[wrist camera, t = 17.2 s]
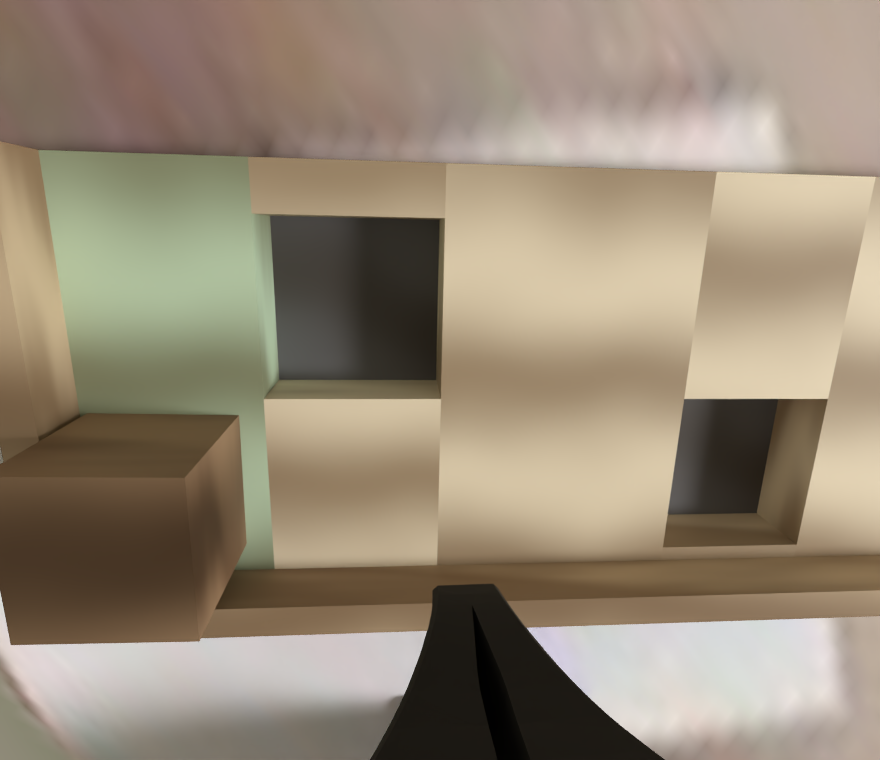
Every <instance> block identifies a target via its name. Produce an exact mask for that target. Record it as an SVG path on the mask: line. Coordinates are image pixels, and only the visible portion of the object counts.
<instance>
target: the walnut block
mask: <svg viewBox="0 0 880 760" xmlns="http://www.w3.org/2000/svg"><path fill="white" fill-rule="evenodd" d="M246 544H247V540H246V523H245V506H244V489H243V473H242V456H241V439H240V422H239V415H186V414H108V413H87V414H85V415H83V416H82V417H80V418H78V419H77V420H75V421H73V422H71V423H70V424H68V425H66V426H65V427H63V428H61V429H59V430H58V431H56V432H54V433H53V434H51V435H49V436H48V437H46V438H44V439H42V440H41V441H39V442H37V443H36V444H34V445H32V446H30V447H29V448H27V449H25V450H24V451H22V452H20V453H18V454H17V455H15V456H13V457H12V458H10V459H8V460H6V461H5V462H3V463H1V464H0V592H1V597H2V602H3V607H4V612H5V617H6V622H7V627H8V633H9V638H10V643H11V645H34V644H86V643H138V642H190V641H200V639H201V637H202V635H203V633H204V631H205V629H206V627H207V625H208V622H209V620H210V618H211V616H212V614H213V612H214V610H215V608H216V606H217V604H218V602H219V600H220V598H221V596H222V594H223V592H224V590H225V587H226V585H227V583H228V581H229V579H230V577H231V575H232V573H233V571H234V569H235V567H236V565H237V563H238V561H239V559H240V557H241V555H242V552H243V550H244V548H245V546H246Z"/></svg>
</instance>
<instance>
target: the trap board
mask: <svg viewBox="0 0 880 760" xmlns="http://www.w3.org/2000/svg"><path fill="white" fill-rule="evenodd" d="M87 413H108V414H186V415H239V422H240V439H241V456H242V473H243V489H244V506H245V523H246V540H247V544H246V546H245V548H244V550H243V552H242V555H241V557H240V559H239V561H238V563H237V565H236V567H235V569H234V571H233V573H232V575H231V577H230V579H229V581H228V583H227V585H226V587H225V590H224V592H223V594H222V596H221V598H220V600H219V602H218V604H217V606H216V608H215V610H214V612H213V614H212V616H211V618H210V620H209V622H208V625H207V627H206V629H205V631H204V633H203V635H202V637H201V638H220V637H250V636H281V635H312V634H343V633H373V632H404V631H427V630H428V626H429V622H430V617H431V612H432V590H433V589H434V588H436V587H437V586H438V585H467V584H494V585H495V586H496V587H497V588H498V589H499V591H500V592H501V594H502V595H503V597H504V598H505V600H506V601H507V602H508V604H509V605H510V607H511V608H512V609H513V611H514V612H515V614H516V615H517V616H518V618H519V619H520V620H521V622H522V623H523V624H524V626H525V627H526V628H527V627H558V626H588V625H619V624H650V623H680V622H711V621H742V620H773V619H803V618H834V617H865V616H880V177H863V176H832V175H801V174H770V173H739V172H708V171H676V170H645V169H614V168H583V167H552V166H521V165H489V164H458V163H427V162H396V161H365V160H333V159H302V158H271V157H240V156H209V155H178V154H146V153H115V152H84V151H53V150H36V149H31V148H27V147H23V146H18V145H14V144H9V143H5V142H0V447H1V452H2V457H3V462H5V461H6V460H8V459H10V458H12V457H13V456H15V455H17V454H18V453H20V452H22V451H24V450H25V449H27V448H29V447H30V446H32V445H34V444H36V443H37V442H39V441H41V440H42V439H44V438H46V437H48V436H49V435H51V434H53V433H54V432H56V431H58V430H59V429H61V428H63V427H65V426H66V425H68V424H70V423H71V422H73V421H75V420H77V419H78V418H80V417H82V416H83V415H85V414H87Z"/></svg>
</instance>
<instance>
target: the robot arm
mask: <svg viewBox="0 0 880 760" xmlns="http://www.w3.org/2000/svg"><path fill="white" fill-rule="evenodd" d="M370 760H665V759H663V758H662V757H661V756H659V755H658V754H656V753H655V752H654V751H652V750H651V749H650V748H649V747H647V746H646V745H645V744H643V743H642V742H641V741H639V740H638V739H637V738H636V737H634V736H633V735H632V734H630V733H629V732H628V731H627V730H625V729H624V728H623V727H622V726H620V725H619V724H618V723H617V722H616V721H614V720H613V719H612V718H611V717H610V716H608V715H607V714H606V713H605V712H604V711H603V710H602V709H601V708H600V707H599V706H597V705H596V704H595V703H594V702H593V701H592V700H591V699H590V698H589V697H588V696H587V695H586V694H585V693H584V692H583V691H582V690H581V689H580V688H579V687H578V686H577V685H576V684H575V683H574V682H573V681H572V680H571V679H570V678H569V677H568V676H567V675H566V674H565V673H564V672H563V670H562V669H561V668H560V667H559V666H558V665H557V664H556V663H555V662H554V661H553V659H552V658H551V657H550V656H549V655H548V654H547V653H546V651H545V650H544V649H543V648H542V647H541V645H540V644H539V643H538V642H537V640H536V639H535V638H534V637H533V636H532V634H531V633H530V632H529V631H528V629H527V628H526V627H525V626H524V624H523V623H522V622H521V620H520V619H519V618H518V616H517V615H516V614H515V612H514V611H513V609H512V608H511V607H510V605H509V604H508V602H507V601H506V600H505V598H504V597H503V595H502V594H501V592H500V591H499V589H498V588H497V587H496V586H495V585H494V584H467V585H438V586H437V587H436V588H434V589H433V590H432V612H431V617H430V622H429V626H428V630H427V633H426V637H425V640H424V644H423V647H422V650H421V653H420V656H419V659H418V662H417V664H416V667H415V670H414V672H413V675H412V677H411V680H410V683H409V685H408V688H407V690H406V692H405V694H404V697H403V699H402V701H401V703H400V705H399V707H398V709H397V711H396V714H395V716H394V718H393V720H392V722H391V724H390V725H389V727H388V729H387V731H386V733H385V735H384V736H383V738H382V740H381V742H380V743H379V745H378V747H377V749H376V751H375V752H374V754H373V756H372V757H371V759H370Z"/></svg>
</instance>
